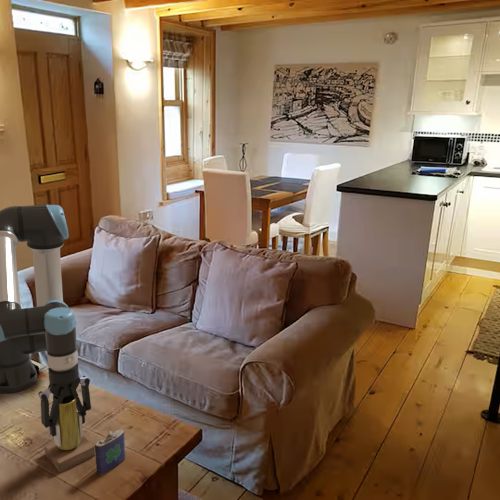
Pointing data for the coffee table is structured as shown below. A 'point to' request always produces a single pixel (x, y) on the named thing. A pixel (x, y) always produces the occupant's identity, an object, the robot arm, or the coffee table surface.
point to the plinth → (69, 454)
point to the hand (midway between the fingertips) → (68, 438)
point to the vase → (68, 424)
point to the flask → (110, 452)
